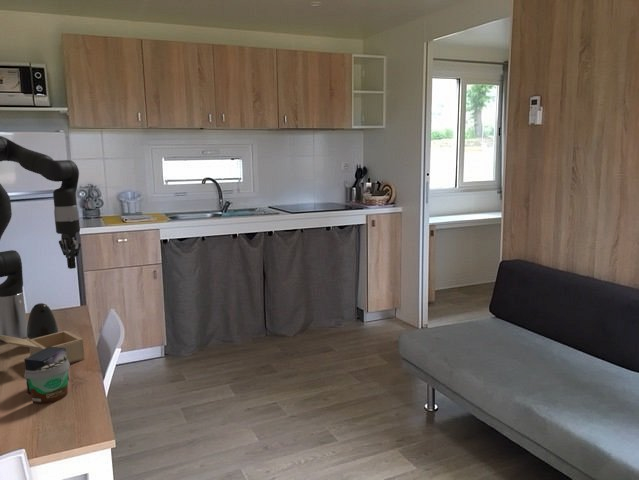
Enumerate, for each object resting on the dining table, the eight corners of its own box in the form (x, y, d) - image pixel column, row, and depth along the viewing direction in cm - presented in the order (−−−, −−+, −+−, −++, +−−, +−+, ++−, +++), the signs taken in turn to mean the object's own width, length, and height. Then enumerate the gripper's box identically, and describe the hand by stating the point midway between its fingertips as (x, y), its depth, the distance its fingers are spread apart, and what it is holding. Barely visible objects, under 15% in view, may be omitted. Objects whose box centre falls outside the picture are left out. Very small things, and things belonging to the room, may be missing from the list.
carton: (30, 359, 179) (27, 339, 178) (68, 348, 188) (66, 329, 187) (47, 370, 169) (44, 350, 167) (86, 359, 178) (84, 339, 176)
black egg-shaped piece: (33, 351, 187) (28, 309, 184) (25, 343, 194) (20, 303, 192) (63, 343, 193) (59, 303, 191) (54, 336, 201) (50, 298, 198)
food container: (40, 410, 142) (36, 375, 141) (27, 405, 146) (23, 370, 144) (81, 392, 153) (78, 359, 151) (69, 387, 156) (65, 355, 154)
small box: (46, 395, 152) (42, 360, 150) (26, 393, 153) (22, 359, 151) (70, 379, 162) (66, 346, 160) (51, 378, 163) (48, 345, 161)
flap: (26, 341, 175) (-4, 336, 169) (26, 339, 176) (-4, 334, 169) (38, 349, 168) (7, 343, 161) (39, 347, 168) (8, 341, 161)
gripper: (48, 218, 184) (53, 267, 186) (63, 221, 175) (68, 272, 178) (70, 216, 189) (74, 264, 192) (86, 219, 180) (91, 268, 183)
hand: (71, 268), depth 185 cm, fingers closed
